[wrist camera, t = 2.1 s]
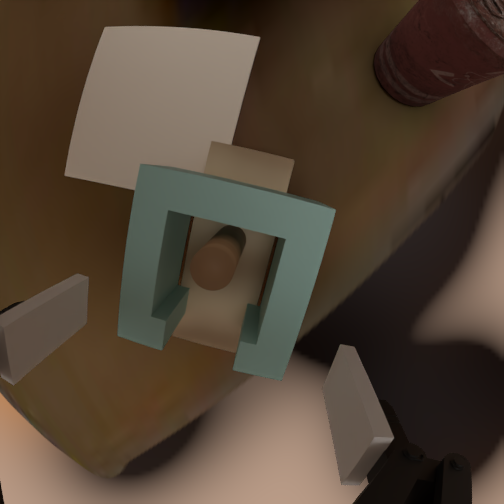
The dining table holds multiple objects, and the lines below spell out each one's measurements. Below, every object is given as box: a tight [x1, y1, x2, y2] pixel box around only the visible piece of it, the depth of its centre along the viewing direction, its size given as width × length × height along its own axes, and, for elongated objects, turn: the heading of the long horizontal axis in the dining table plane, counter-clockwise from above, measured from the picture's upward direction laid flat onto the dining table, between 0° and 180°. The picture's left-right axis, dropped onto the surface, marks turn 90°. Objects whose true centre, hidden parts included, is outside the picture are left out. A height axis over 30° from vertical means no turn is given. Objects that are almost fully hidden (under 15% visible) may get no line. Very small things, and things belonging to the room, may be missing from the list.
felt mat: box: [65, 26, 260, 190], centre depth 22 cm, size 14×14×1 cm
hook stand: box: [173, 141, 295, 353], centre depth 19 cm, size 13×5×12 cm, turn 166°
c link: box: [117, 164, 336, 381], centre depth 17 cm, size 9×9×5 cm
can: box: [374, 0, 504, 106], centre depth 14 cm, size 6×6×14 cm
